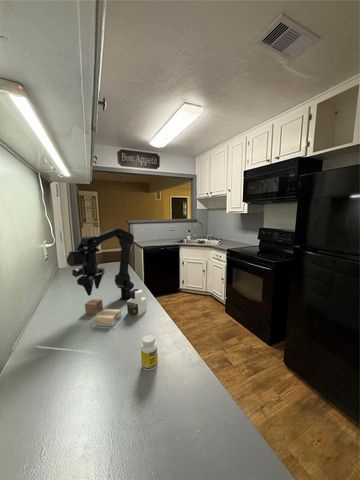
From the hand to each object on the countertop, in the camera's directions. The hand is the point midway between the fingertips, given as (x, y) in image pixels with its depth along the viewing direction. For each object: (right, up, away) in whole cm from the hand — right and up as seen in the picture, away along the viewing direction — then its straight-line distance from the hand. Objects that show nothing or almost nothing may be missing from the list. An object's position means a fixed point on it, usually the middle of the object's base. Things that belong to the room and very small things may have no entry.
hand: (93, 291), depth 102 cm
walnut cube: (-1, -12, +4) cm, 13 cm away
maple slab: (+10, -12, -6) cm, 17 cm away
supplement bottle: (+34, -16, -34) cm, 50 cm away
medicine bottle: (+22, -12, +2) cm, 25 cm away
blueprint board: (+10, -13, -6) cm, 18 cm away
